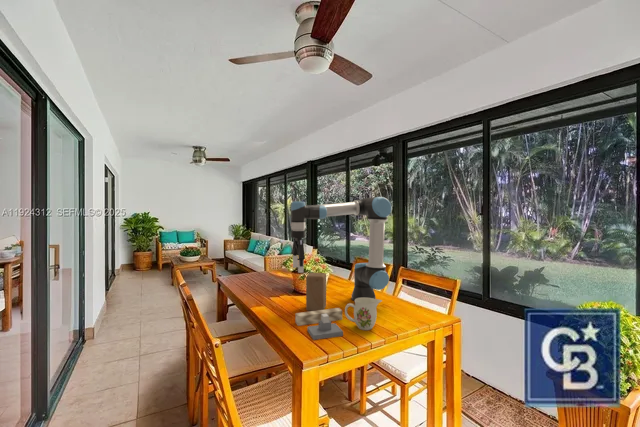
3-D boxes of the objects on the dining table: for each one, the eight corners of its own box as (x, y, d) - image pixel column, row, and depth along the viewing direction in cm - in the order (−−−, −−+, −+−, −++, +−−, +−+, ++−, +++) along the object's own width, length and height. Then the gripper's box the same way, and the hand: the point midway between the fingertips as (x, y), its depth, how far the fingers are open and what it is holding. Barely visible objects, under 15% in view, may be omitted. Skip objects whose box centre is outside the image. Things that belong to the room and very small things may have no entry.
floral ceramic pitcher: (346, 321, 151) (346, 294, 150) (382, 324, 146) (382, 297, 146) (342, 329, 140) (343, 301, 140) (381, 333, 136) (381, 304, 135)
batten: (338, 317, 157) (338, 307, 157) (342, 320, 153) (342, 310, 153) (295, 323, 149) (295, 313, 149) (297, 326, 145) (297, 316, 144)
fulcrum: (335, 327, 143) (335, 309, 143) (343, 335, 133) (343, 317, 133) (307, 330, 139) (307, 313, 138) (313, 339, 129) (313, 320, 129)
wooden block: (323, 312, 163) (323, 276, 163) (305, 311, 165) (305, 275, 165) (326, 306, 173) (326, 272, 173) (309, 305, 175) (310, 272, 175)
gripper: (287, 228, 168) (286, 265, 168) (296, 232, 144) (296, 275, 144) (299, 228, 170) (299, 265, 170) (311, 231, 146) (310, 274, 146)
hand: (298, 269), depth 157 cm, fingers open, 13 cm apart
